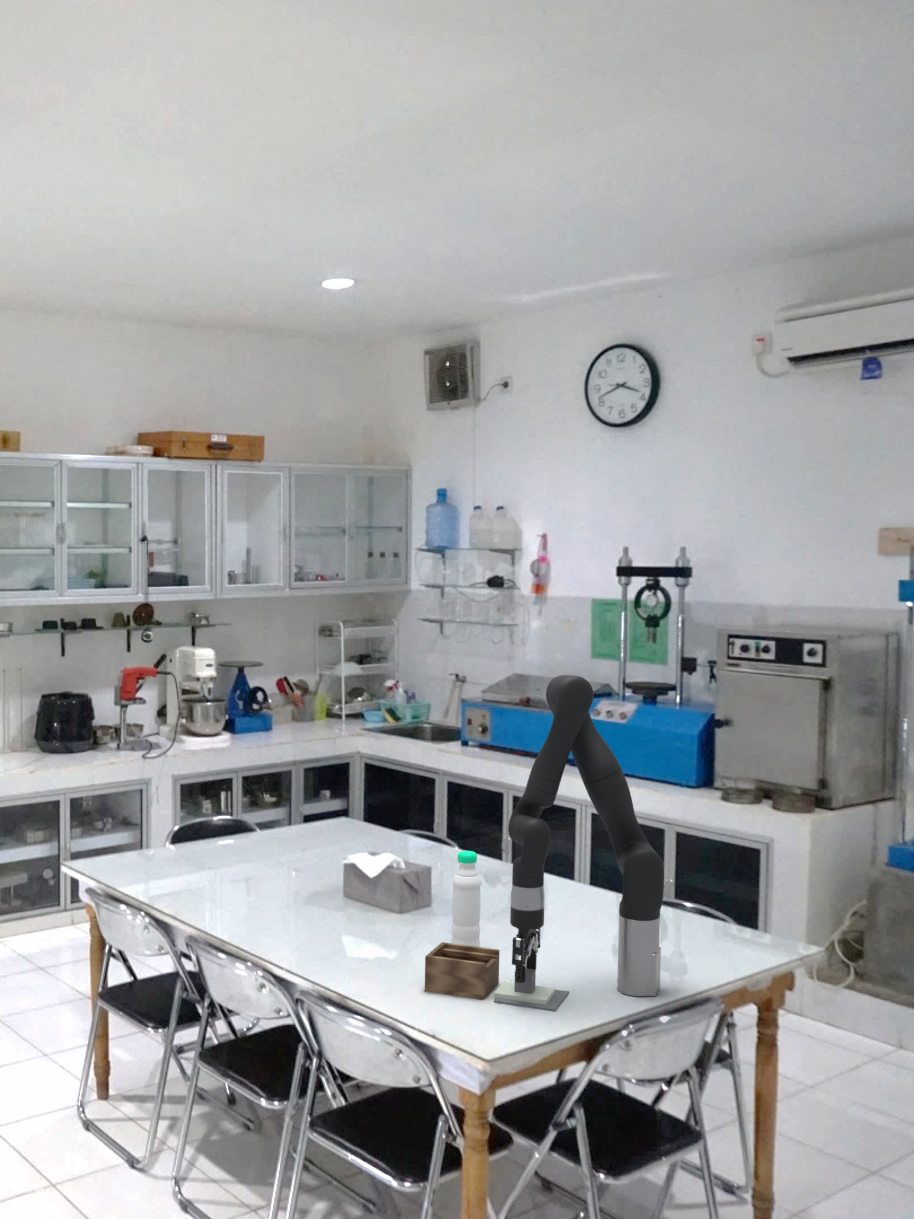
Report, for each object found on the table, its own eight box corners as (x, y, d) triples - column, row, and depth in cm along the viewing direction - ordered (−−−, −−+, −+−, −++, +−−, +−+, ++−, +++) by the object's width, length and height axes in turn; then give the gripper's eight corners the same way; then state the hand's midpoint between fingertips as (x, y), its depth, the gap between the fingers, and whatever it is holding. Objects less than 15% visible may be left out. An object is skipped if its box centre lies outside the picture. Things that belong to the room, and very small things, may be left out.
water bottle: (455, 957, 298) (457, 856, 297) (447, 948, 305) (449, 849, 304) (483, 955, 300) (485, 854, 299) (474, 946, 307) (476, 848, 306)
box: (498, 984, 281) (499, 949, 280) (483, 1000, 270) (484, 964, 270) (441, 975, 285) (442, 942, 285) (424, 991, 275) (425, 956, 275)
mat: (569, 993, 276) (569, 991, 276) (555, 1011, 264) (555, 1009, 264) (509, 984, 280) (509, 983, 280) (493, 1002, 269) (493, 1000, 269)
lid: (555, 992, 275) (555, 968, 274) (546, 1004, 267) (546, 979, 267) (504, 985, 278) (504, 961, 278) (493, 997, 271) (494, 972, 271)
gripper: (534, 914, 264) (533, 988, 265) (552, 897, 277) (550, 968, 278) (501, 910, 266) (500, 984, 267) (520, 894, 280) (518, 964, 280)
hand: (525, 976), depth 273 cm, fingers open, 8 cm apart
